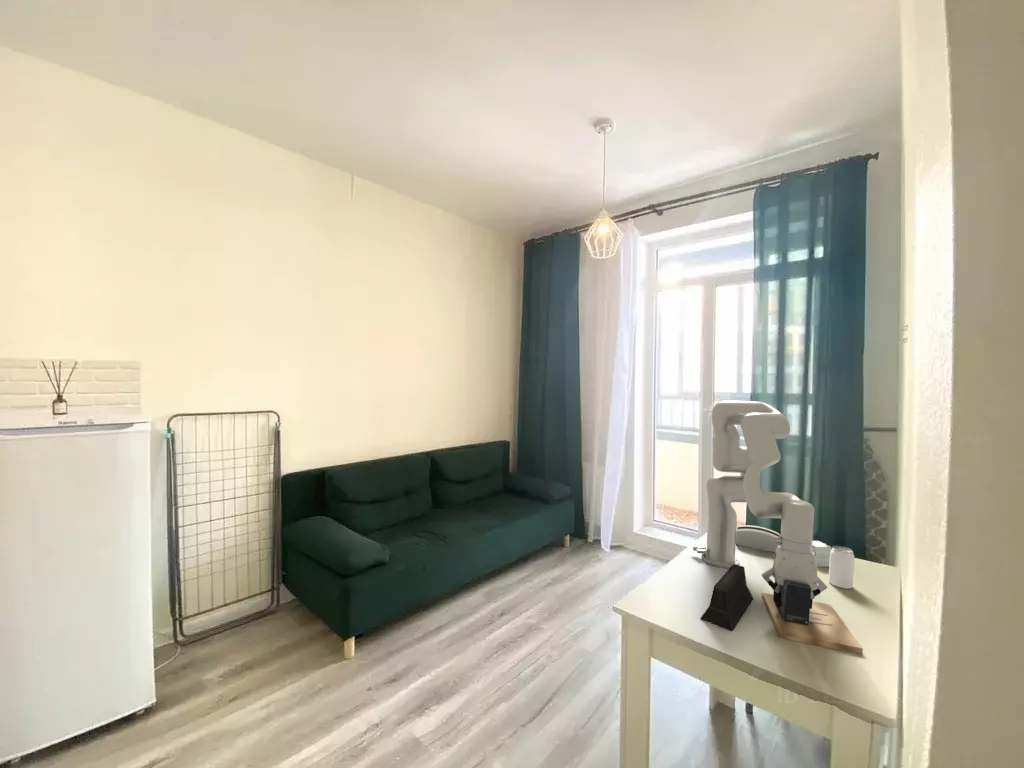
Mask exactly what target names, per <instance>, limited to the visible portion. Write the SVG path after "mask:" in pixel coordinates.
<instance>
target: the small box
mask: <svg viewBox="0 0 1024 768" xmlns="http://www.w3.org/2000/svg"><path fill="white" fill-rule="evenodd" d="M780 593H781V607H777V608H778V610H779V612H780V614H781V616H782V618H783V620H785V621H790V622H795V623H800V624H805V625H809V613H810V599H811V587H810V586H809V585H807V584H803V583H798V582H792V581H787V580H784V586H782V588H781V590H780ZM775 604H776V603H775ZM776 606H777V605H776Z"/></svg>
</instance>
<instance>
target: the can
mask: <svg viewBox="0 0 1024 768" xmlns="http://www.w3.org/2000/svg"><path fill="white" fill-rule="evenodd" d="M828 568H829V569H828V582H829V584H831V585H832V586H834V587H836V588H839V589H843V590H844V589H845V590H851V589H852V588H853V585H854V572H855V555H854V551H853V550H852V549H851V548H849V547H845V546H840V545H833V546H831V551H830V564H829V566H828Z"/></svg>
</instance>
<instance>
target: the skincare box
mask: <svg viewBox="0 0 1024 768" xmlns="http://www.w3.org/2000/svg"><path fill="white" fill-rule="evenodd" d="M831 549H832V546H830V545H827V543H825V542H824V543H823V542H822V541H820V540H812V551H813V552H814V553H815V556H816V562H817V567H829V564H830V551H831Z"/></svg>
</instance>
